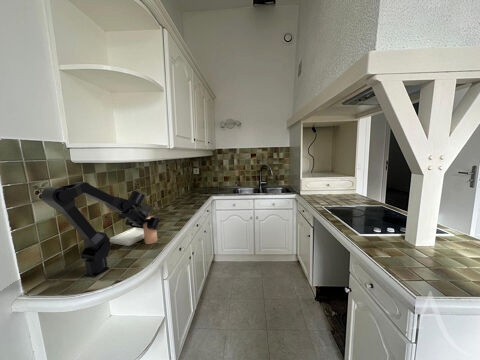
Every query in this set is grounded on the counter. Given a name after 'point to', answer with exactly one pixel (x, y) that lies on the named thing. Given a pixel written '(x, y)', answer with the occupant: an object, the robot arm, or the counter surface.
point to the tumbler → (149, 234)
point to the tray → (128, 237)
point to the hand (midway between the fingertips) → (151, 228)
